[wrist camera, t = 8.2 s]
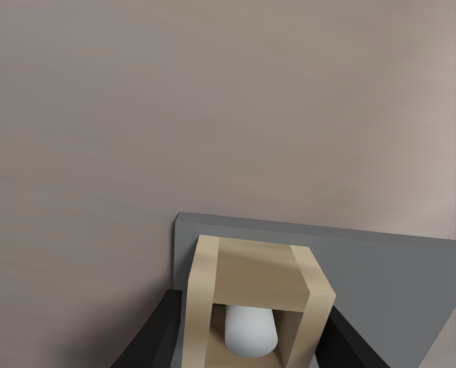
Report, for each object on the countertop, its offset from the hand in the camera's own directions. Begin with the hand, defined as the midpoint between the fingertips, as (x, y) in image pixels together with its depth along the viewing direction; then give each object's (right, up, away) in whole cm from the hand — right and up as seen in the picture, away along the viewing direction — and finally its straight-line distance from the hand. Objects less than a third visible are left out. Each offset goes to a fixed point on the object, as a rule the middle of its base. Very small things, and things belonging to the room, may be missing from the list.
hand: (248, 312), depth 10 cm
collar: (0, +1, +2) cm, 2 cm away
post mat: (+4, -3, +4) cm, 6 cm away
